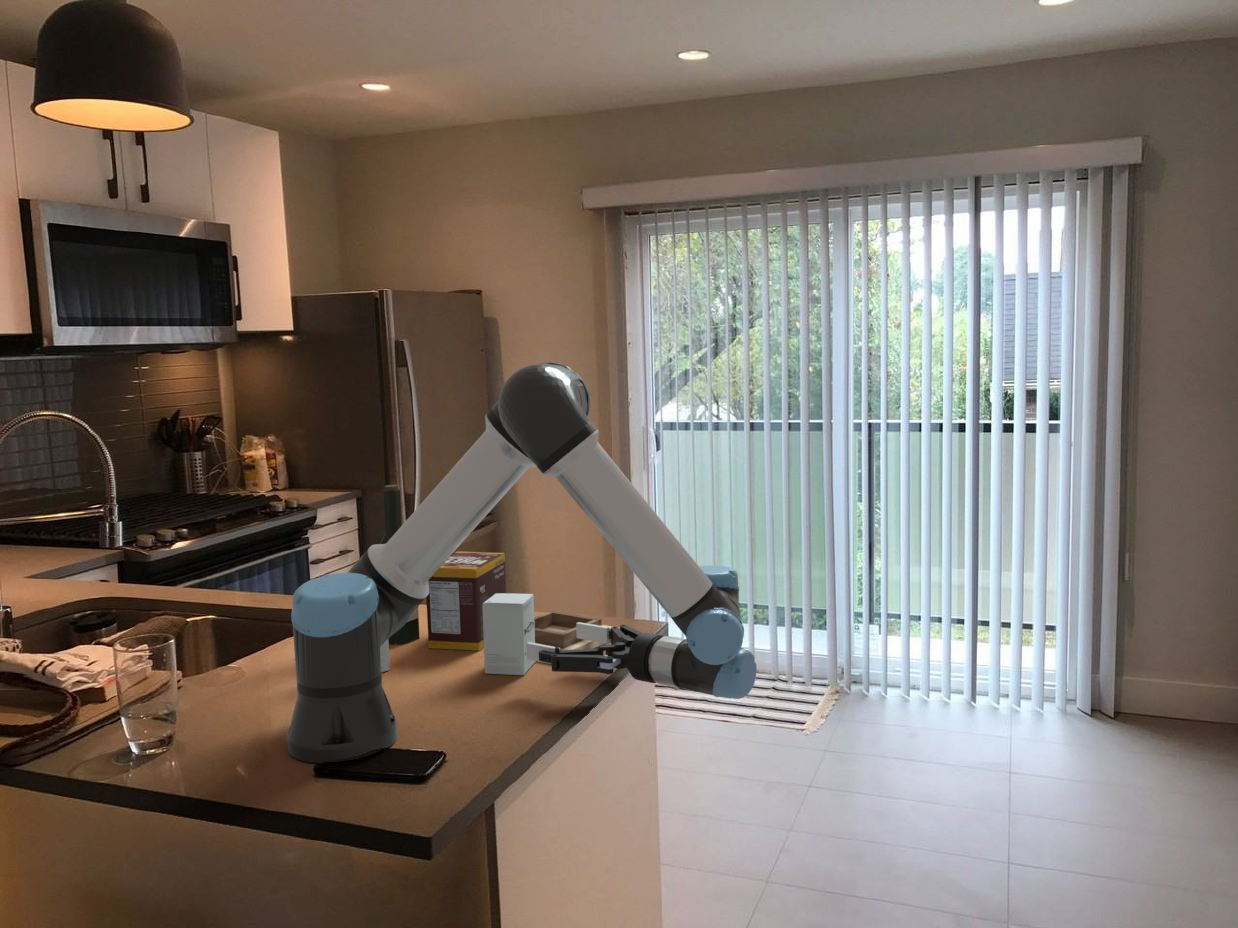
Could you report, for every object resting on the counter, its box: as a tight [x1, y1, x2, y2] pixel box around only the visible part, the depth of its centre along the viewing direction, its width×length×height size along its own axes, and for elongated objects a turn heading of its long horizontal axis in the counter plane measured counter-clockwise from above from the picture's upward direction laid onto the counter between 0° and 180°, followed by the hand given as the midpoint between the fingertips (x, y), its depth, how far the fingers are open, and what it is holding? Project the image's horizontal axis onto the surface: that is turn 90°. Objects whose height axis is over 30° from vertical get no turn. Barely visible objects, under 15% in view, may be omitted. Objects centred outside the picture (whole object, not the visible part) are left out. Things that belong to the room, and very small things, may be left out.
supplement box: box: [425, 551, 507, 652], centre depth 193 cm, size 10×15×16 cm
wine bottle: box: [379, 484, 420, 646], centre depth 193 cm, size 8×8×30 cm
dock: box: [534, 610, 613, 650], centre depth 189 cm, size 20×16×4 cm
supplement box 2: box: [483, 592, 536, 676], centre depth 174 cm, size 7×7×13 cm
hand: (553, 639), depth 169 cm, fingers open, 13 cm apart
